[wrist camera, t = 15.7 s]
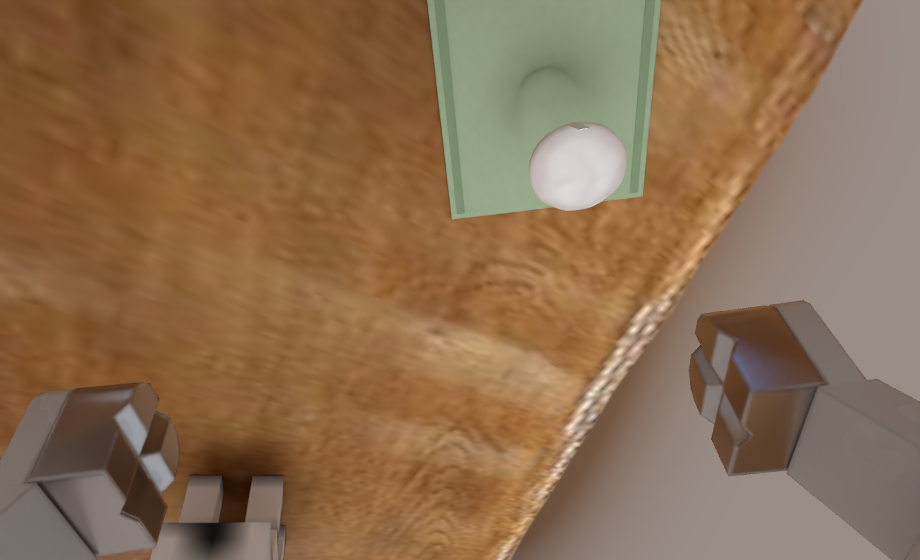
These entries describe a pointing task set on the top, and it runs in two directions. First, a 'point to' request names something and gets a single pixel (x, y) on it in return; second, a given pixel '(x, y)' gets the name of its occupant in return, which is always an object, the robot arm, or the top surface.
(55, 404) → the robot arm
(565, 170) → the milkshake
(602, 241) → the top surface
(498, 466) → the top surface
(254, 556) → the toy llama
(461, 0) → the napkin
